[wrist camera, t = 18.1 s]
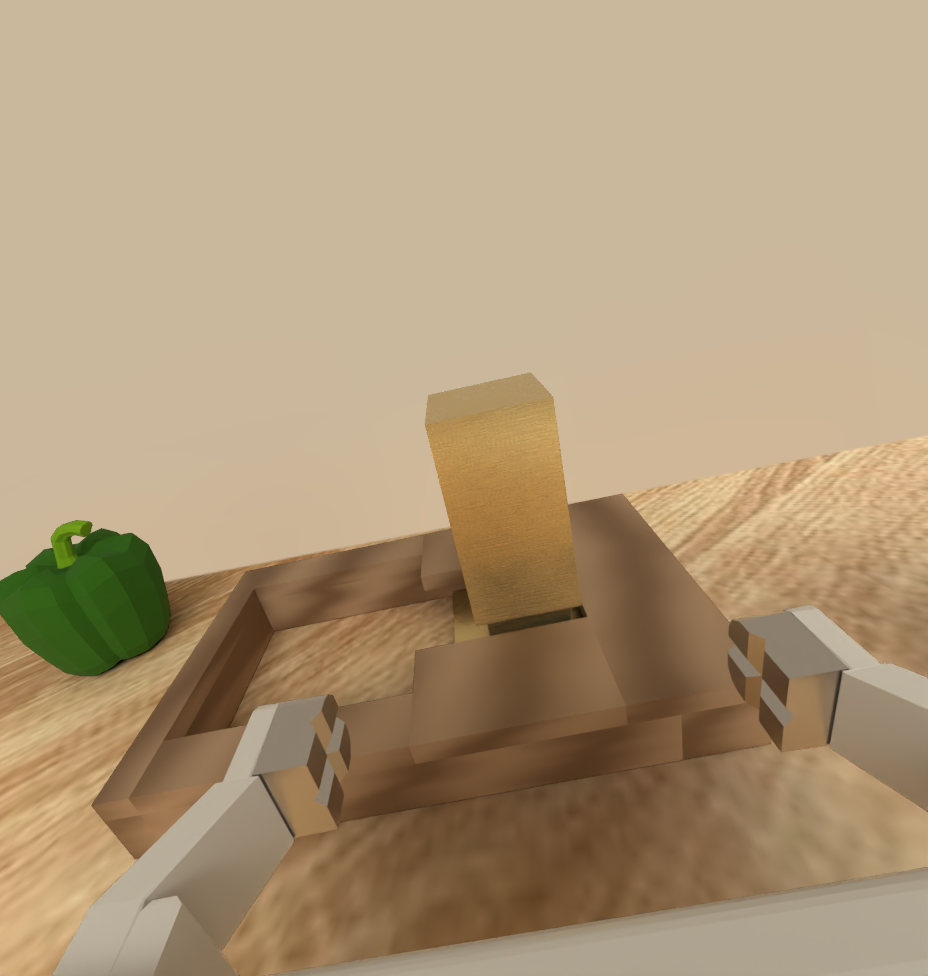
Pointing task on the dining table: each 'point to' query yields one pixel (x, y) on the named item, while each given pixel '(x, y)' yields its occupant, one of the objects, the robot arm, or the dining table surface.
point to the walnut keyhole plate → (461, 681)
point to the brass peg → (505, 505)
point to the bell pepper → (88, 600)
